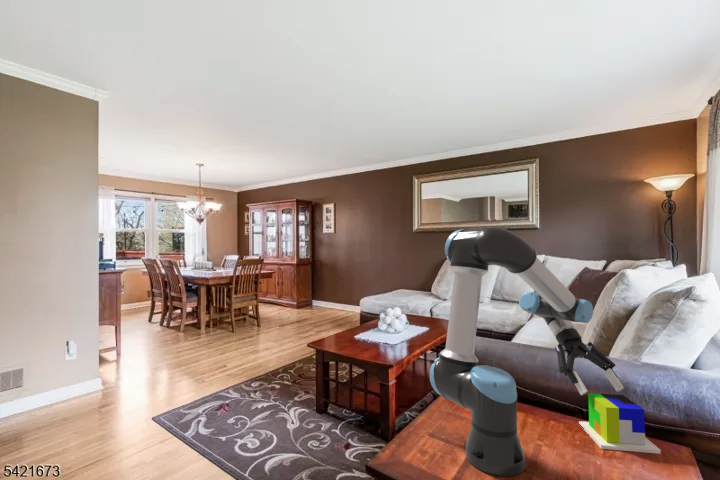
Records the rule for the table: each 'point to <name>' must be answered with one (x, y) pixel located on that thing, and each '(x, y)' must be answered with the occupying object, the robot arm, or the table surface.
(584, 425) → the letter board
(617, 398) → the puzzle toy
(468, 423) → the table surface
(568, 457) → the table surface
